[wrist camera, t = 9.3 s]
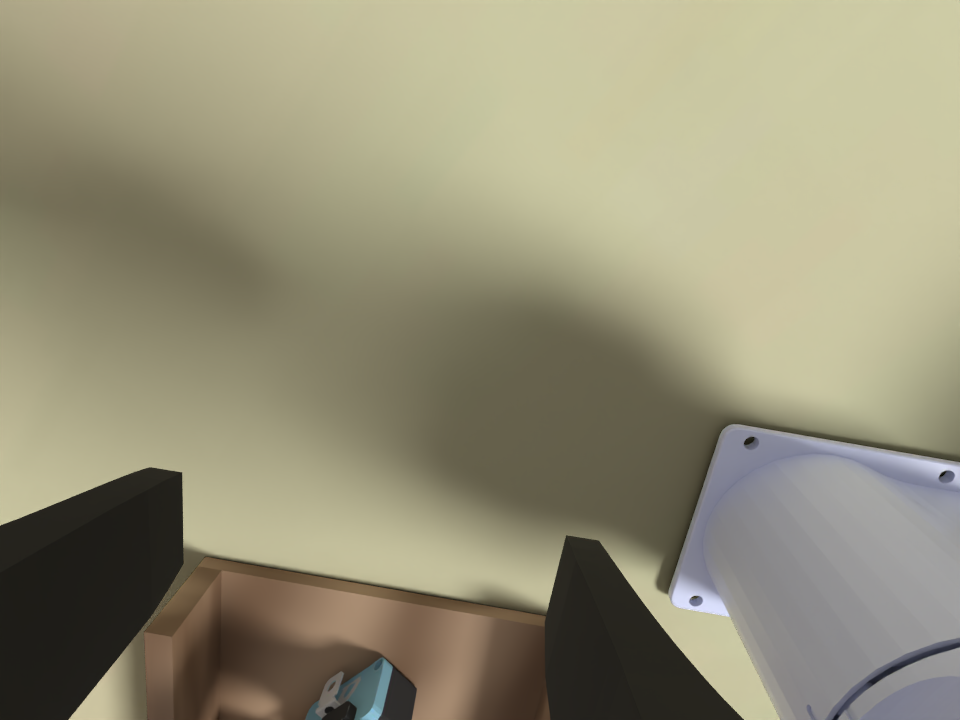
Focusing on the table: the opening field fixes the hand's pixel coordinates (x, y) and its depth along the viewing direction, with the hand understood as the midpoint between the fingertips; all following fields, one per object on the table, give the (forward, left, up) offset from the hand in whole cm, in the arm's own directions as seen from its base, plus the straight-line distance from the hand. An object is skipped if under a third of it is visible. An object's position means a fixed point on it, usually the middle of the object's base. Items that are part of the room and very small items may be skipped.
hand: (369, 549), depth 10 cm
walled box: (+1, +17, -10) cm, 20 cm away
